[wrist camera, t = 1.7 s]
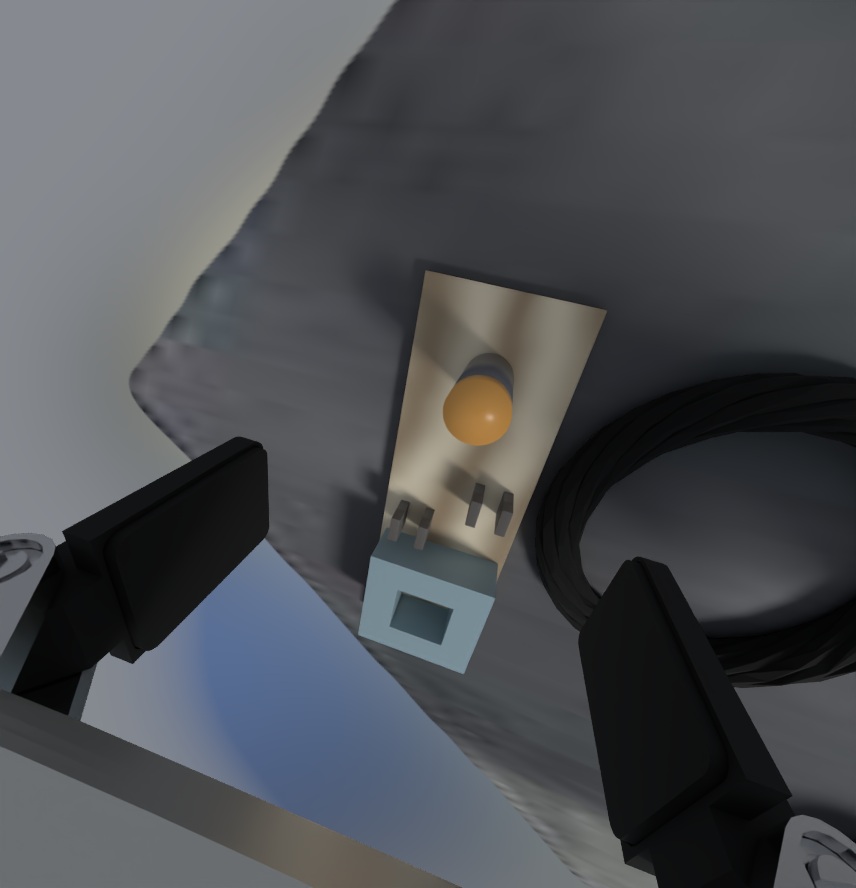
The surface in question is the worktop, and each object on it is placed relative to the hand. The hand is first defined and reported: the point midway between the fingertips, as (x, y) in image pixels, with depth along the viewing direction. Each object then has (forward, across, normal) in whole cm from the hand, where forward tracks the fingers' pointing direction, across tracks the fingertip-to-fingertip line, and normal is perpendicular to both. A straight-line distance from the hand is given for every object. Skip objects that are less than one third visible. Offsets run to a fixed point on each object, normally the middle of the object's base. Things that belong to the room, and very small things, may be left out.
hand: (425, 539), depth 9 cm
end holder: (+18, 0, +22) cm, 29 cm away
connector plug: (+18, 0, 0) cm, 18 cm away
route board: (+19, 0, +12) cm, 23 cm away
